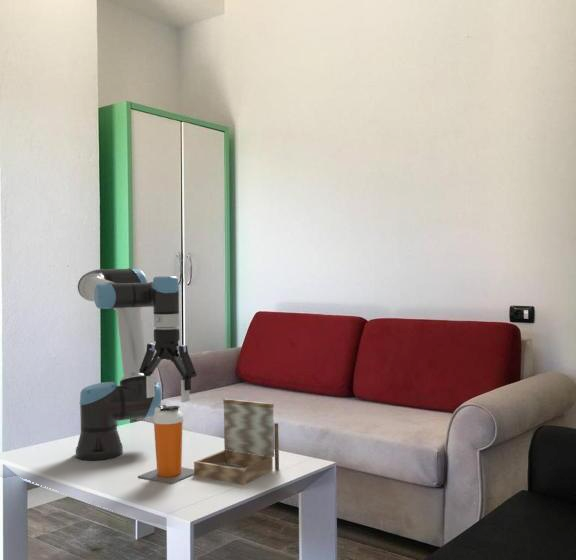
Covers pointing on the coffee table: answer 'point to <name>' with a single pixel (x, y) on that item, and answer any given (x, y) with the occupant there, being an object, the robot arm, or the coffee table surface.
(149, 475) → the slate coaster
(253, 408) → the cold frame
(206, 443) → the coffee table surface
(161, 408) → the shaker bottle
